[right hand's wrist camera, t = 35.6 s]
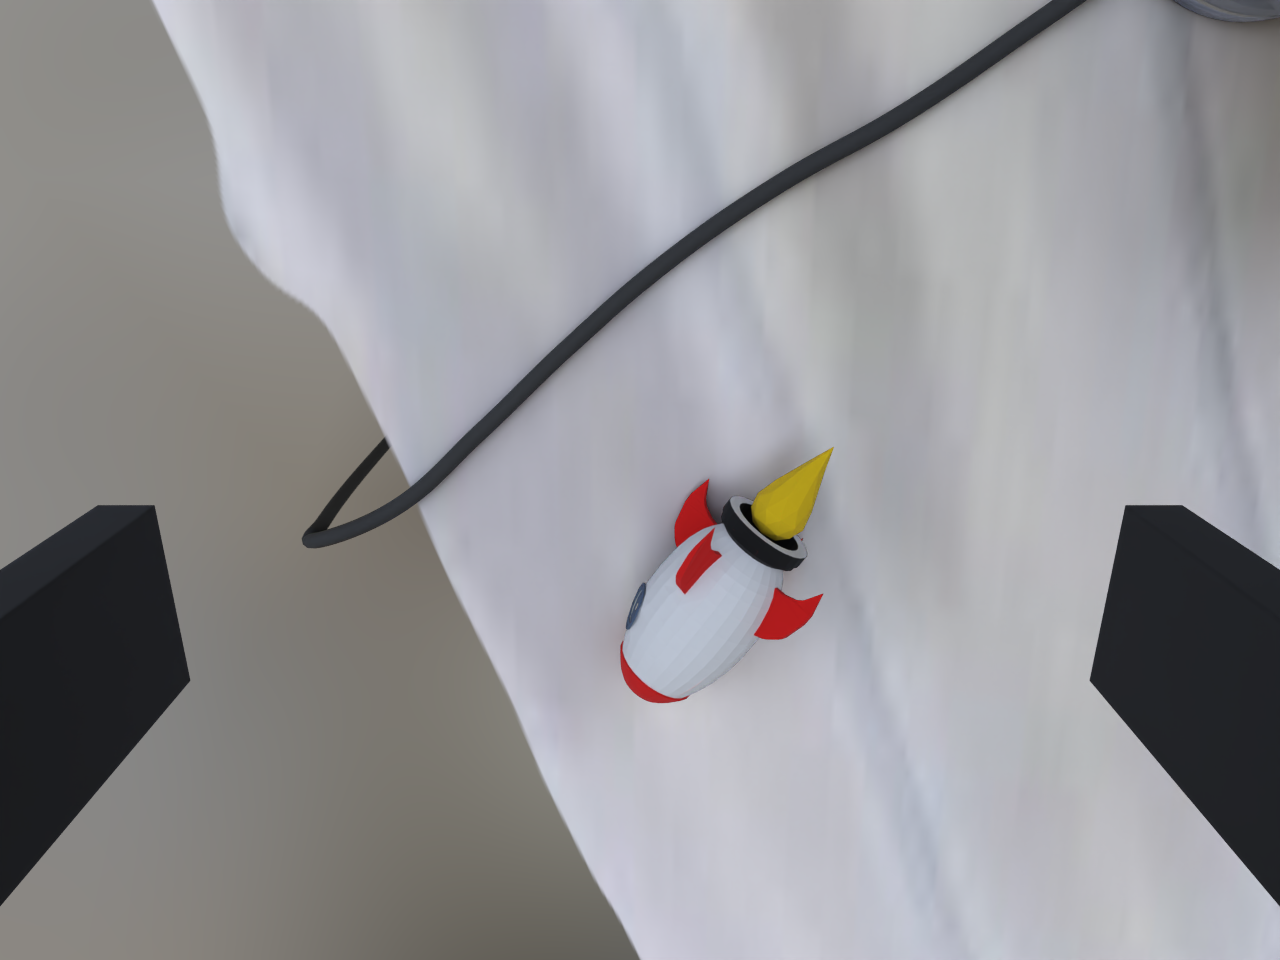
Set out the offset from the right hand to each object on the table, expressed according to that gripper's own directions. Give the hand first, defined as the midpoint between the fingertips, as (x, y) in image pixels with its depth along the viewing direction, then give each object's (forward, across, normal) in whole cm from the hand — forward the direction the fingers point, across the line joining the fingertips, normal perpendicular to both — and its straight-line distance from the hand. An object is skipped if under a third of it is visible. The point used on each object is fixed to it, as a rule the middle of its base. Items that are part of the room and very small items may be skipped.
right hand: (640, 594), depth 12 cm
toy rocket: (+41, +5, -18) cm, 45 cm away
